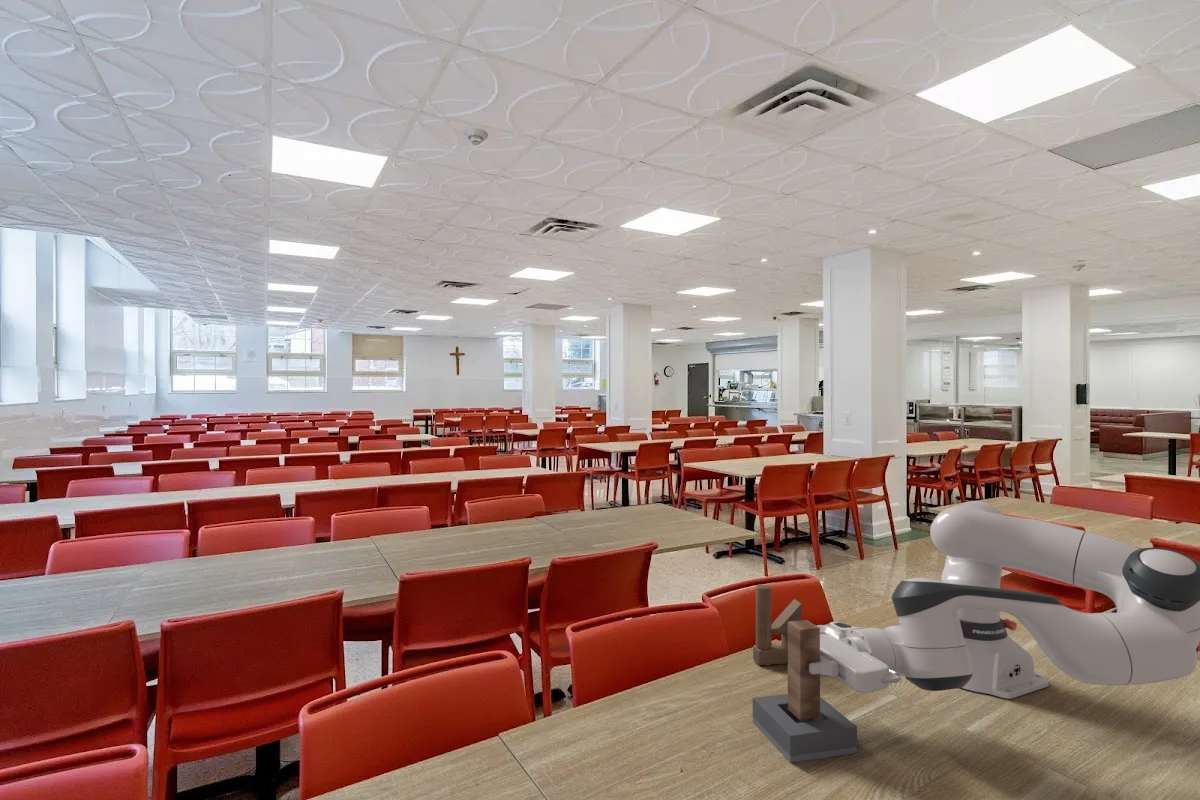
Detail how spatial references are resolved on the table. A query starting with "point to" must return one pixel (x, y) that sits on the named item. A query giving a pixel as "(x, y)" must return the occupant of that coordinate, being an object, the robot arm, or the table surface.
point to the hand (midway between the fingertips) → (799, 661)
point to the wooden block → (772, 628)
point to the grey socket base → (804, 730)
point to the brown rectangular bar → (803, 670)
